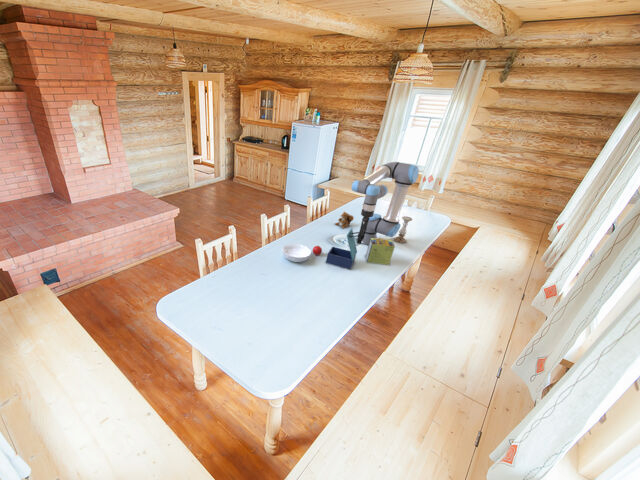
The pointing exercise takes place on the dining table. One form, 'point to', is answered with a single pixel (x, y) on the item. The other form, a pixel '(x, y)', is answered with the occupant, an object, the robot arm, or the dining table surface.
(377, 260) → the protein box
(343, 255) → the lunchbox
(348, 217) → the teddy bear
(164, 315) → the dining table surface
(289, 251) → the serving bowl
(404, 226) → the candle holder
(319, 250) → the apple
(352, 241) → the lid
